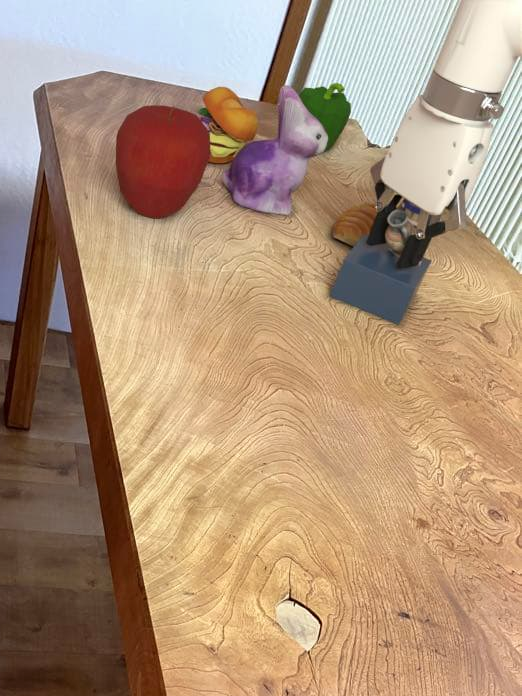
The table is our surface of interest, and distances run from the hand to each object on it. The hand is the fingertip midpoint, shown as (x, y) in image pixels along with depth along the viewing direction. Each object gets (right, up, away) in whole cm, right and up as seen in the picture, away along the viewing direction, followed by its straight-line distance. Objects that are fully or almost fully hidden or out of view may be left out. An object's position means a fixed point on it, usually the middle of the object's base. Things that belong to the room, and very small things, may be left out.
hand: (391, 253), depth 107 cm
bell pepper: (-2, +29, +37) cm, 48 cm away
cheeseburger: (-19, +24, +27) cm, 41 cm away
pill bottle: (+11, +12, +24) cm, 29 cm away
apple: (-29, +9, +10) cm, 31 cm away
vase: (0, -1, +1) cm, 1 cm away
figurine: (-13, +13, +18) cm, 26 cm away
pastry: (0, +7, +16) cm, 17 cm away
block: (-1, -4, +4) cm, 6 cm away
